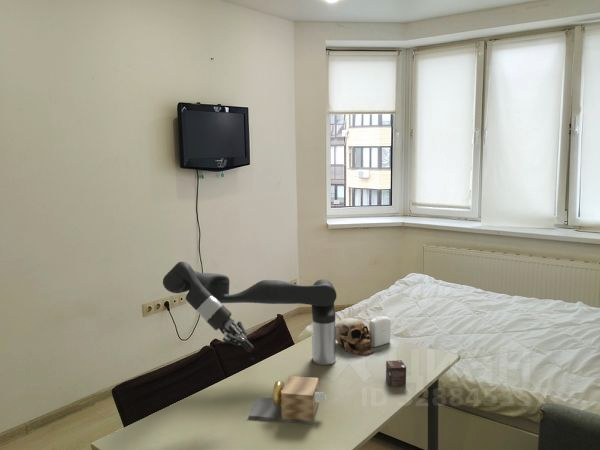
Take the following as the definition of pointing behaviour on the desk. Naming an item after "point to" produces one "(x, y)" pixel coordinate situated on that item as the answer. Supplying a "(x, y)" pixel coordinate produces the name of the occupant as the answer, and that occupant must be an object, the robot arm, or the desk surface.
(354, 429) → the desk surface
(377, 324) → the photo printer
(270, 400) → the bearing block
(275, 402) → the shaft
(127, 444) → the desk surface
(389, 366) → the box
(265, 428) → the desk surface
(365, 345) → the skull
